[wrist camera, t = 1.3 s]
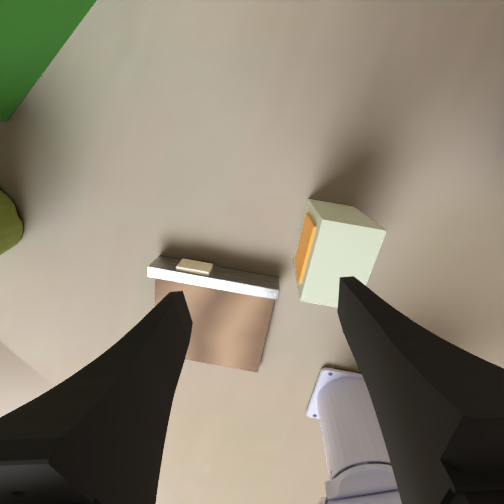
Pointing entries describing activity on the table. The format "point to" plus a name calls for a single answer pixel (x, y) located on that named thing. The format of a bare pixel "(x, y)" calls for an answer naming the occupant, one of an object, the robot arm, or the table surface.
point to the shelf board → (220, 309)
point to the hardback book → (32, 43)
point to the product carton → (334, 250)
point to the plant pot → (9, 224)
